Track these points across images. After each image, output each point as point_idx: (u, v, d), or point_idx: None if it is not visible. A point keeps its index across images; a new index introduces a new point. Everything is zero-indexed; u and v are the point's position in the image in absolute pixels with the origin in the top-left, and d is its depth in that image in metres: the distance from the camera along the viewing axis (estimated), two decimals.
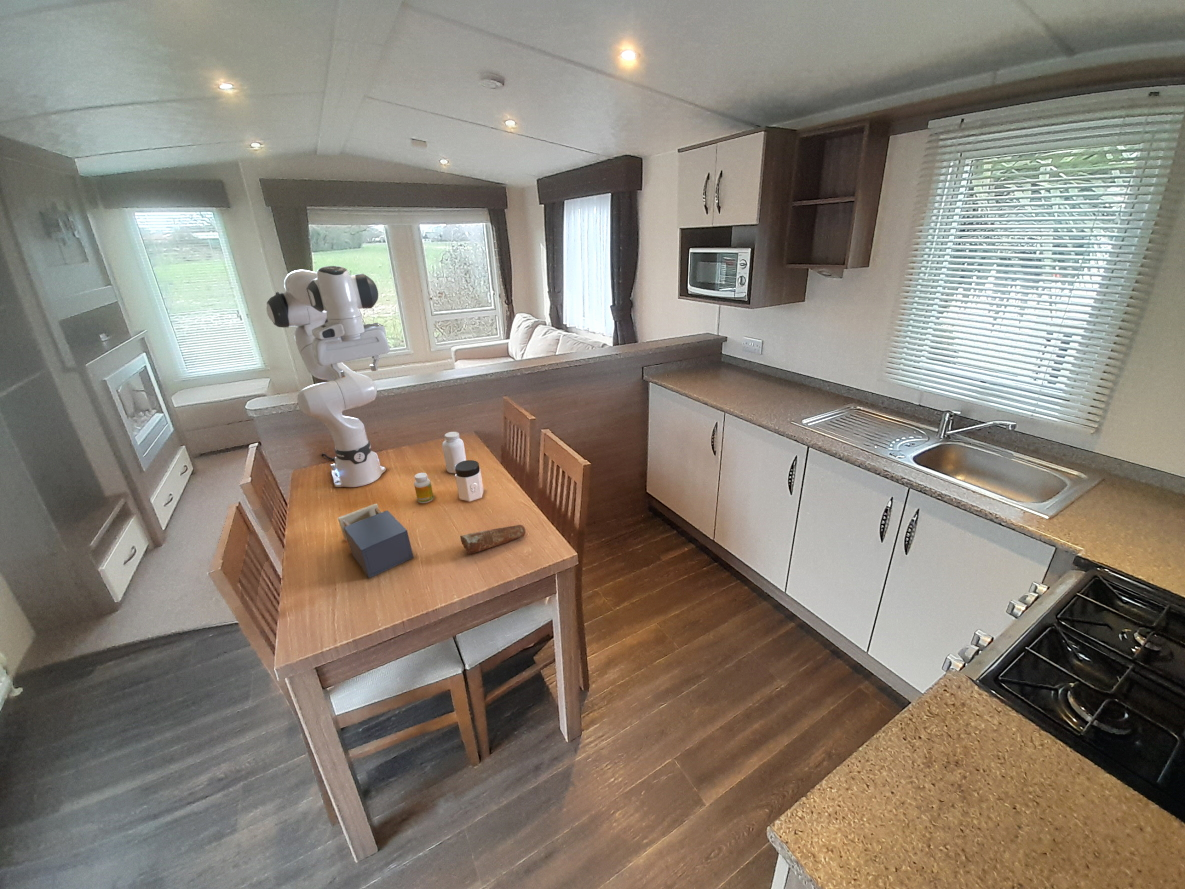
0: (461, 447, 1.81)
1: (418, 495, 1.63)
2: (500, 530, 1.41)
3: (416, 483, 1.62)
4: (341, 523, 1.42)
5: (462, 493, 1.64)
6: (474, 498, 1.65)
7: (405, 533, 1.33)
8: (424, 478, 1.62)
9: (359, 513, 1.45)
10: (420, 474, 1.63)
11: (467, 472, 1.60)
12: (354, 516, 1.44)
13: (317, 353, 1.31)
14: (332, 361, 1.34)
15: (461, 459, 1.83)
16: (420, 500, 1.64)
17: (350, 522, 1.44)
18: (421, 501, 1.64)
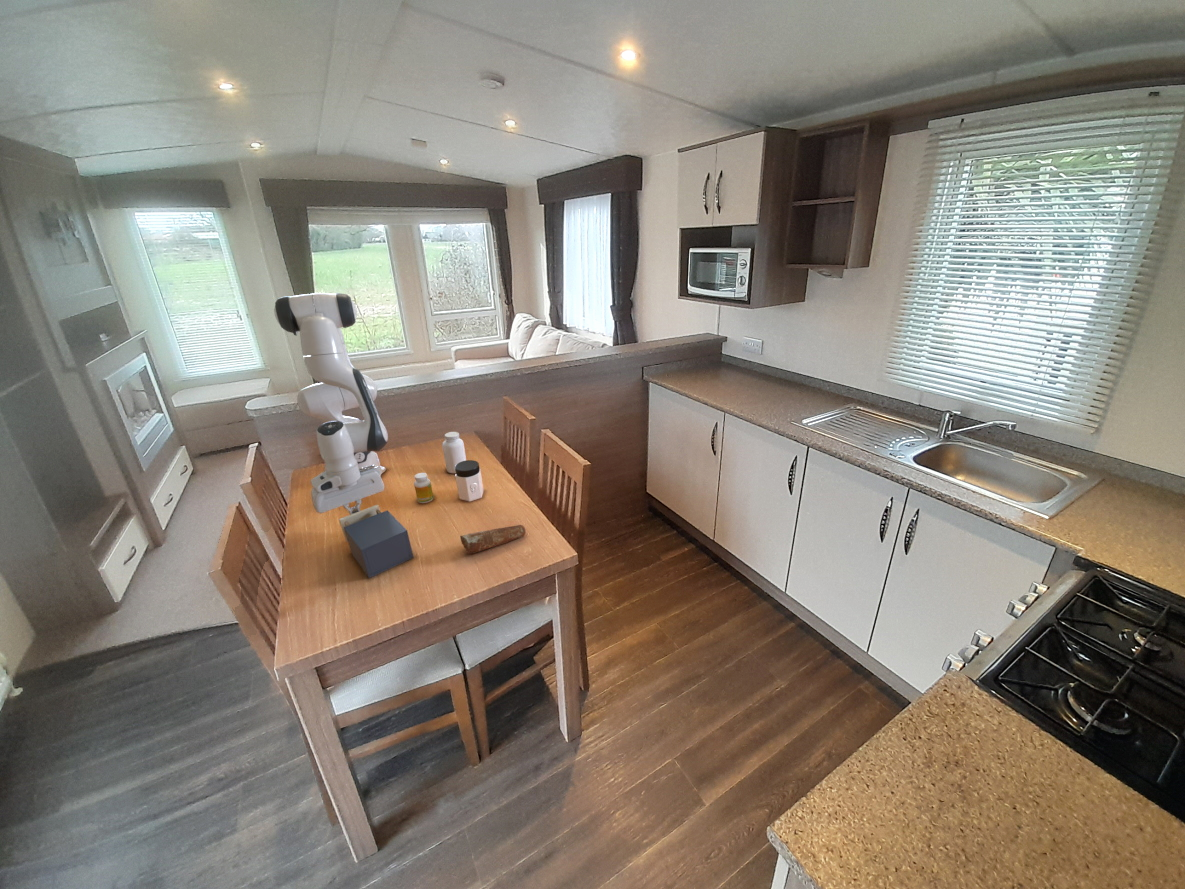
0: (461, 447, 1.81)
1: (418, 495, 1.63)
2: (500, 530, 1.41)
3: (416, 483, 1.62)
4: (342, 524, 1.42)
5: (462, 493, 1.64)
6: (474, 498, 1.65)
7: (405, 533, 1.33)
8: (424, 478, 1.62)
9: (360, 514, 1.44)
10: (420, 474, 1.63)
11: (467, 472, 1.60)
12: (355, 517, 1.44)
13: (316, 504, 1.39)
14: (330, 508, 1.42)
15: (461, 459, 1.83)
16: (420, 500, 1.64)
17: (351, 523, 1.43)
18: (421, 501, 1.64)
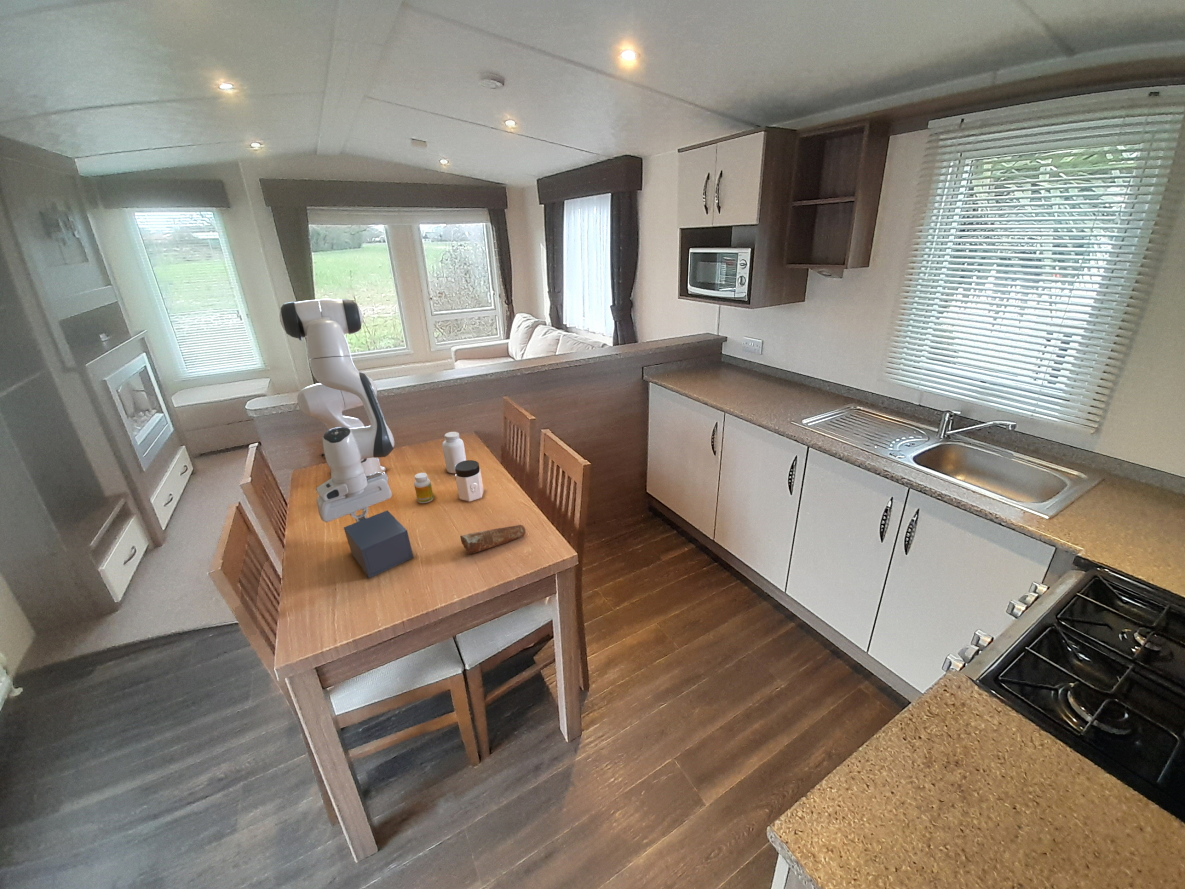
0: (461, 447, 1.81)
1: (418, 495, 1.63)
2: (500, 530, 1.41)
3: (416, 483, 1.62)
4: None
5: (462, 493, 1.64)
6: (474, 498, 1.65)
7: (405, 533, 1.33)
8: (424, 478, 1.62)
9: None
10: (420, 474, 1.63)
11: (467, 472, 1.60)
12: None
13: (322, 512, 1.35)
14: (336, 516, 1.38)
15: (461, 459, 1.83)
16: (420, 500, 1.64)
17: None
18: (421, 501, 1.64)
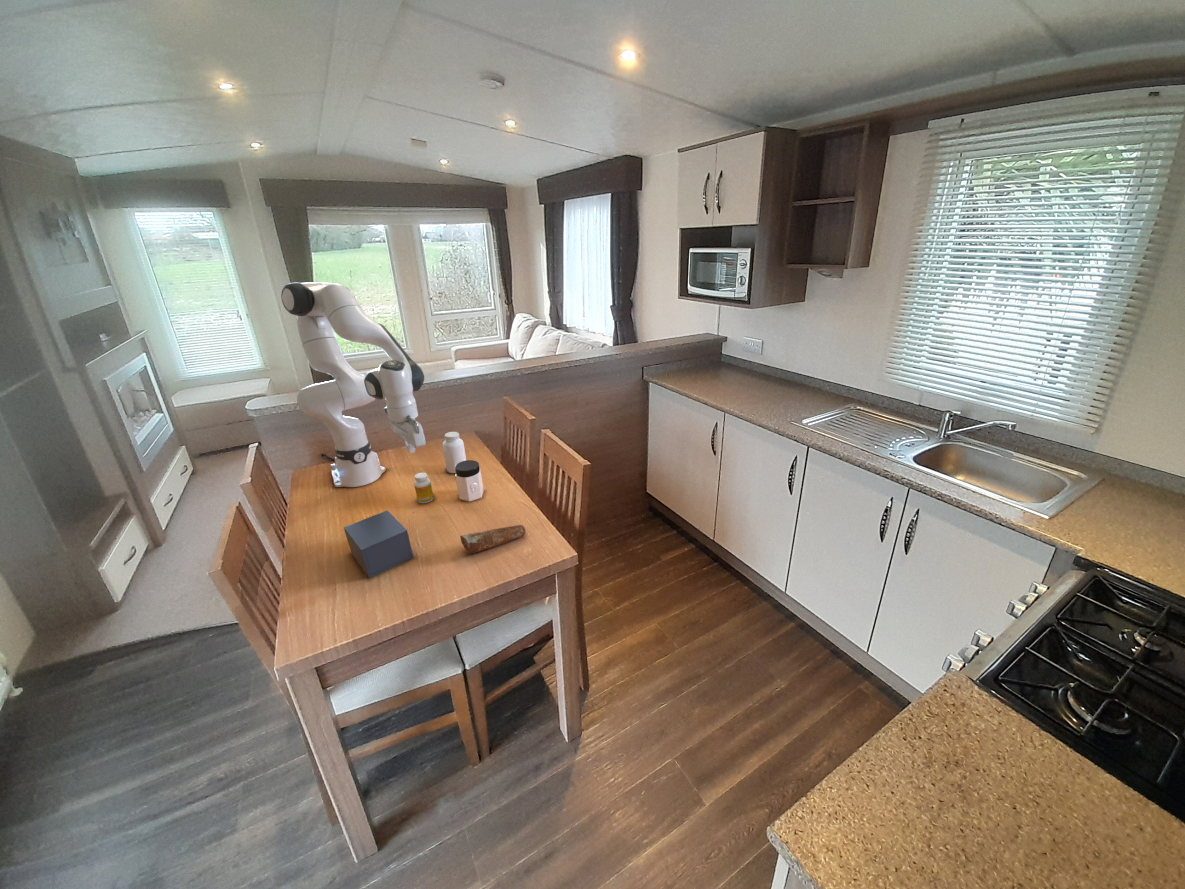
0: (461, 447, 1.81)
1: (418, 495, 1.63)
2: (500, 530, 1.41)
3: (416, 483, 1.62)
4: None
5: (462, 493, 1.64)
6: (474, 498, 1.65)
7: (405, 533, 1.33)
8: (424, 478, 1.62)
9: None
10: (420, 474, 1.63)
11: (467, 472, 1.60)
12: None
13: None
14: (395, 432, 1.58)
15: (461, 459, 1.83)
16: (420, 500, 1.64)
17: None
18: (421, 501, 1.64)
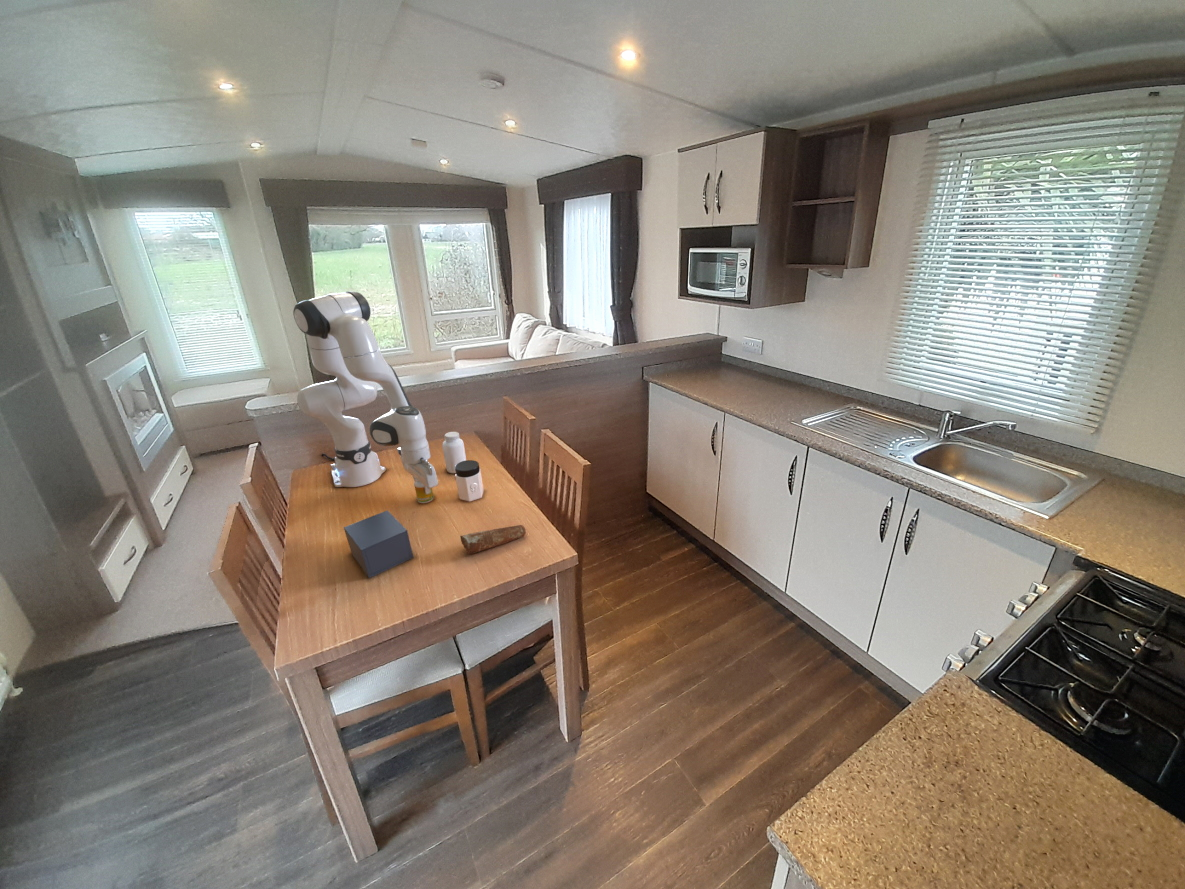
0: (461, 447, 1.81)
1: (418, 495, 1.63)
2: (500, 530, 1.41)
3: (416, 483, 1.62)
4: None
5: (462, 493, 1.64)
6: (474, 498, 1.65)
7: (405, 533, 1.33)
8: None
9: None
10: None
11: (467, 472, 1.60)
12: None
13: None
14: (407, 471, 1.66)
15: (461, 459, 1.83)
16: (420, 500, 1.64)
17: None
18: (421, 501, 1.64)
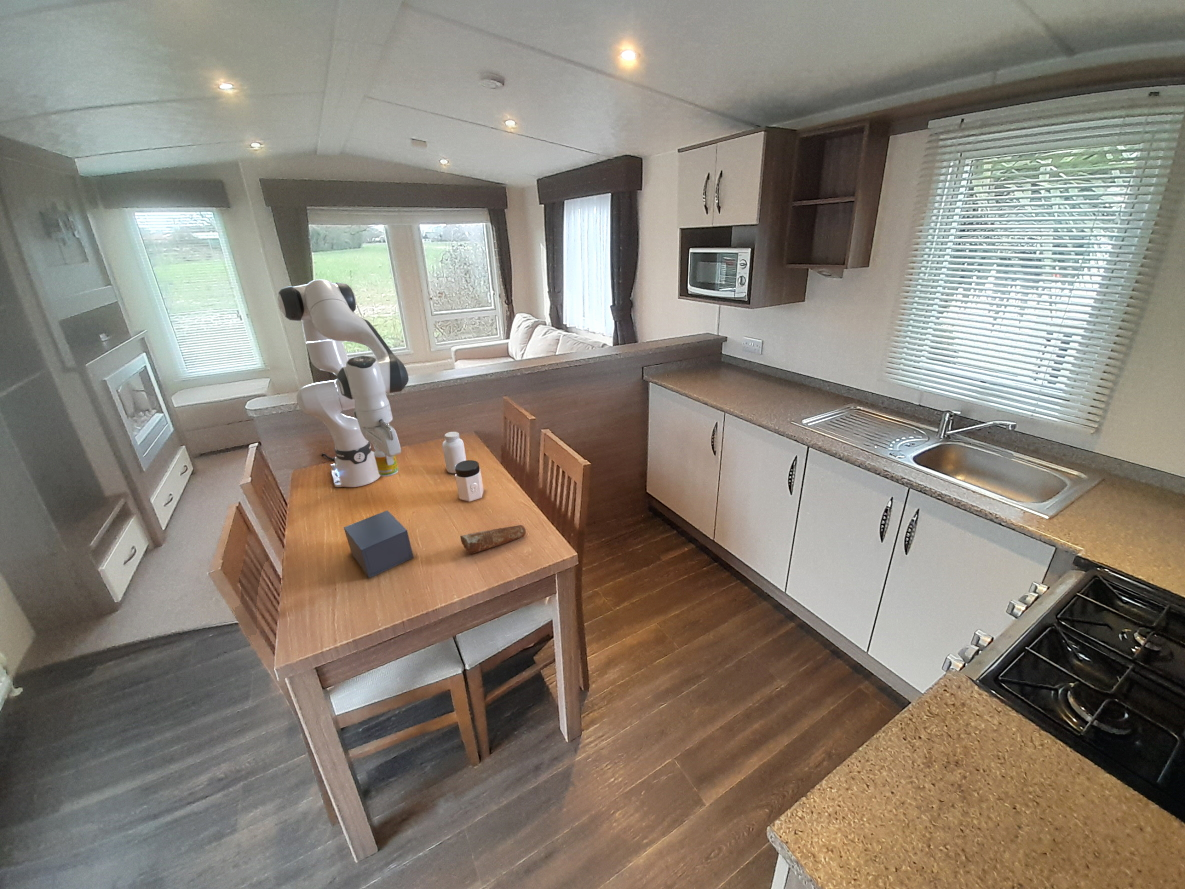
0: (461, 447, 1.81)
1: (379, 467, 1.36)
2: (500, 530, 1.41)
3: (376, 452, 1.35)
4: None
5: (462, 493, 1.64)
6: (474, 498, 1.65)
7: (405, 533, 1.33)
8: None
9: None
10: None
11: (467, 472, 1.60)
12: None
13: None
14: (367, 438, 1.39)
15: (461, 459, 1.83)
16: (381, 473, 1.37)
17: None
18: (383, 474, 1.37)
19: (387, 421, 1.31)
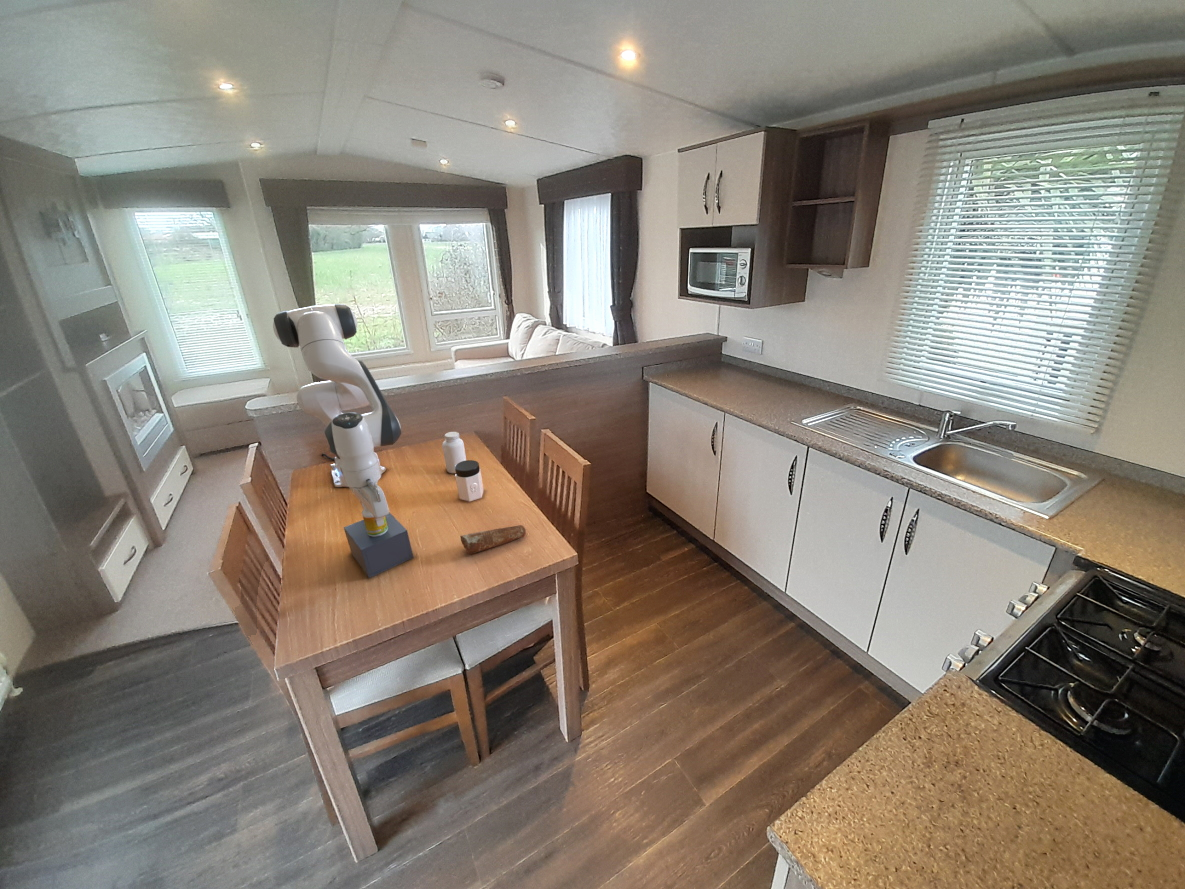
0: (461, 447, 1.81)
1: (367, 527, 1.30)
2: (500, 530, 1.41)
3: (364, 512, 1.29)
4: None
5: (462, 493, 1.64)
6: (474, 498, 1.65)
7: (405, 533, 1.33)
8: None
9: None
10: None
11: (467, 472, 1.60)
12: None
13: None
14: (354, 494, 1.32)
15: (461, 459, 1.83)
16: (370, 533, 1.31)
17: None
18: (371, 534, 1.31)
19: (375, 480, 1.24)
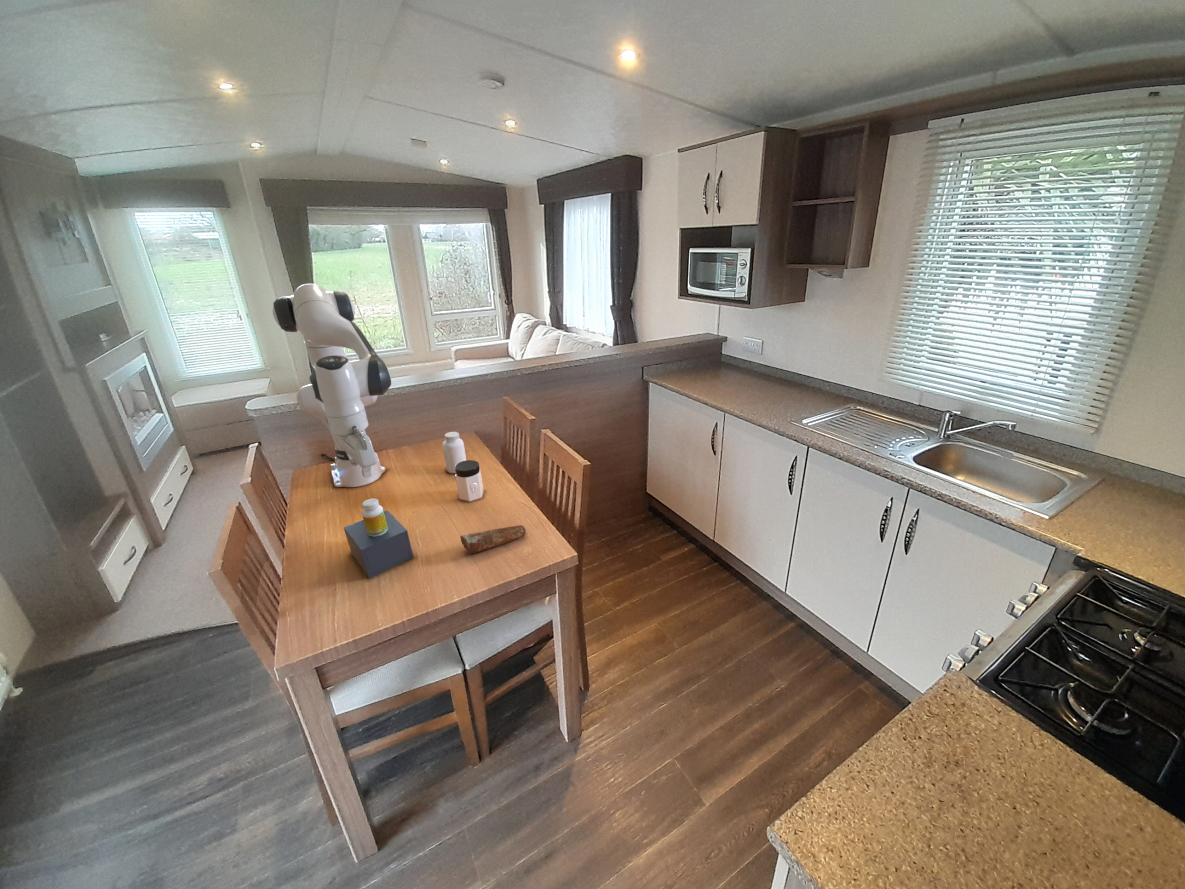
0: (461, 447, 1.81)
1: (367, 527, 1.30)
2: (500, 530, 1.41)
3: (364, 512, 1.29)
4: None
5: (462, 493, 1.64)
6: (474, 498, 1.65)
7: (405, 533, 1.33)
8: (374, 506, 1.29)
9: None
10: (370, 500, 1.30)
11: (467, 472, 1.60)
12: None
13: None
14: (341, 446, 1.26)
15: (461, 459, 1.83)
16: (370, 533, 1.31)
17: None
18: (371, 534, 1.31)
19: (361, 428, 1.18)
